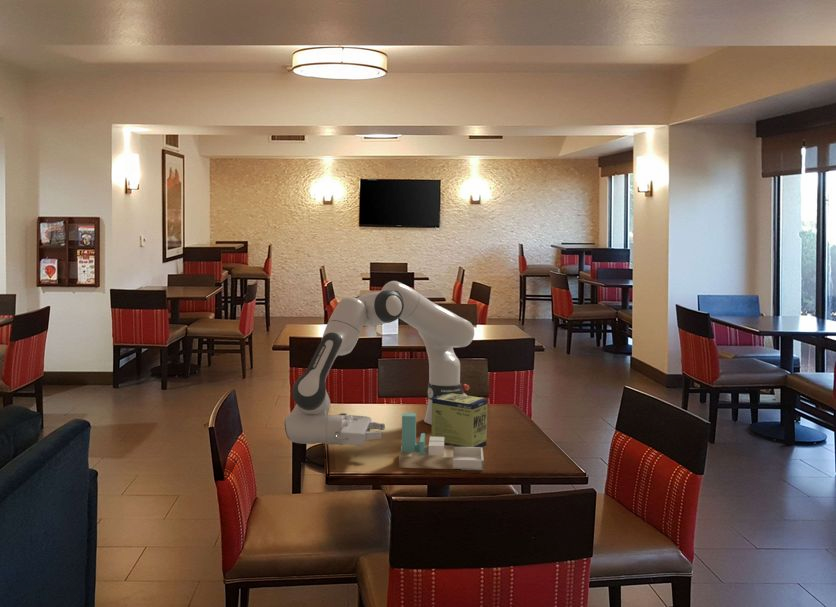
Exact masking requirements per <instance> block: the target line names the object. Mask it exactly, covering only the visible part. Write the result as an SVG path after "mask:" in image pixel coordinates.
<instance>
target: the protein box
mask: <svg viewBox="0 0 836 607" xmlns="http://www.w3.org/2000/svg"><path fill="white" fill-rule="evenodd" d="M466 395H467V394H466ZM466 395H459V394H453V393H447V394H444V395H441V396H438V397H435V398H432V425H431V435H430V437H445V438H444V445H453V447H482V448H483V447H484V446H487V437H488V435H487V432H488V431H487V430H488V397H487V398H486V397H478V396H472V395H467V396H466Z"/></svg>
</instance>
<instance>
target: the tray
mask: <svg viewBox="0 0 836 607" xmlns="http://www.w3.org/2000/svg"><path fill="white" fill-rule="evenodd" d="M483 448H484V447H483V446H482V447H453V469H461V470H460V471H485V470H484V467H485V466H484V464H485V463H484V462H485V460H484V450H483ZM453 469H452V470H453Z"/></svg>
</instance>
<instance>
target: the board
mask: <svg viewBox="0 0 836 607" xmlns="http://www.w3.org/2000/svg"><path fill="white" fill-rule="evenodd" d="M398 468H400V469H401V468H403V469H405V468H406V469H432V470H433V469H438V470H453V445H444V456H429V444H425V449H424V455H420V452H402V445H401V447H400V451H399V454H398Z"/></svg>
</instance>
